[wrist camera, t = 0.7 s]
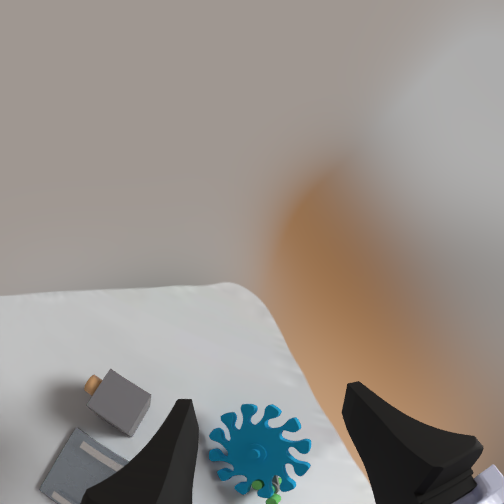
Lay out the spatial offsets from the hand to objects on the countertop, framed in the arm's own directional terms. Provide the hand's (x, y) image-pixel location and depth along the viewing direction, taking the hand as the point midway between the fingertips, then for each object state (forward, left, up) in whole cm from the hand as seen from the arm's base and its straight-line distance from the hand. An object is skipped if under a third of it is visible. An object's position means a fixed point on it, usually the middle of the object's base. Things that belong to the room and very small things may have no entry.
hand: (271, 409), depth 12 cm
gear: (0, -5, -18) cm, 19 cm away
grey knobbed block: (-2, +8, -18) cm, 19 cm away
